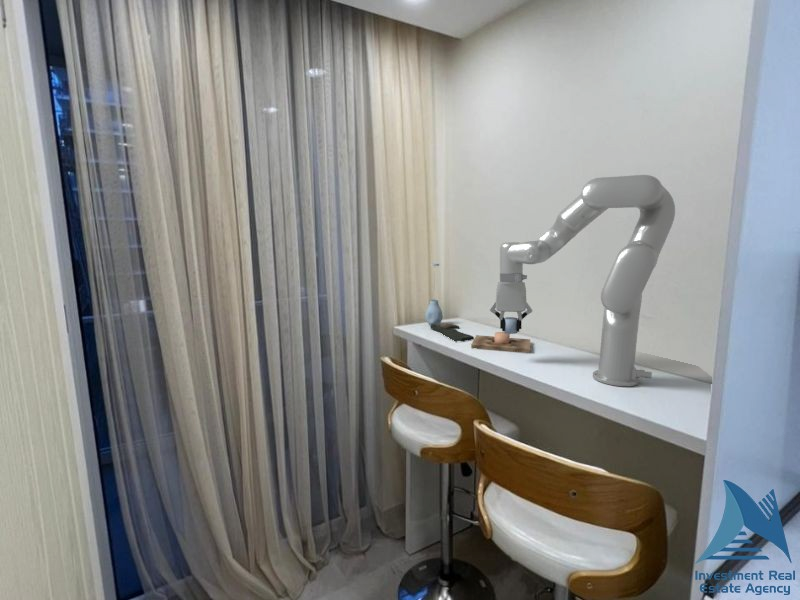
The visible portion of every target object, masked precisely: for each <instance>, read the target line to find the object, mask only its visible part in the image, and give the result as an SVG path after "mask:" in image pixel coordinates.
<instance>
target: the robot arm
mask: <svg viewBox="0 0 800 600" xmlns="http://www.w3.org/2000/svg"><path fill="white" fill-rule="evenodd" d="M580 193H581V194H579V196H578V197H576V198H575V199H574V200H572V202H570V203H569V204H568V205H567V206H566V207H565V208H564V209H562V210H561V211H560V212H558V213H559V214H557V216H556V219H555V222H554V223H553V224H552V226H551V227H550V228H549V229H548V230H547V231H546V232H545V233H544V234H543V235H542V236H541V237H539V238H537V240H530V241H529V240H528V241H525V242H517V241H515V242H514V241H513V242H503V243H501V244H500V247H499V282H497V284H496V285H497V286H496V295H495V302H494V304H493V305H492V306H491V307H490V309H489V311H490V312H491V313H492V314H494V315H495V316H496V317H497V318H498V319H499V321H500V324H499V325H500V327H499V328H500V329H502V330H501V332H504V318H505V317H504V316H505V312H508V313H510V312H511V313H512V312H515V313H517V333H519V332H520V330H522V322H523V321H522V320H524V319H525V318H526V317H527V316H528V315H530V314H531V313H533V309H532V307H531V305H530V304H529V303H528V302H527V288H526V283H525V281H524V280H528V275H525V274H523V271H524V270H523V269H524V268H523V267H524V265H536V264H541V263H543V262H546V261H547V260H549V259H550V258H552V257H553V255H555V254H557V253H558V251H560V250H561V249H562V248H564V247H565V246H566V245H567V244H568V243H569V242H570V241H571V240H572V239H574V238H575V237H576V236H577V235H578V234H579V233H580V232H581V231H583V230H584V229H585V228H586V227H587V226H588V225H590V224H591V223H592V222H594V220H596V219H597V218H598V217H599V216H601V215H602V214H603V213H604V212H605V211H607V210H608V209H614V208H615V209H617V208H618V209H620V208H621V209H622V208H623V209H624V208H626V209H627V208H637V209H638V210H639V218H638V220H637V222H636V225H635V227H634V229H633V232H632V234H631V235H630V239H629V240H628V243H627V245H626V246H624V247H623V248H621V250H620V251H619V252H618V254H617V256H616V257H615V260H614V262H613V264H612V267H611V268H610V271H609V273H608V275H607V278H606V280H605V283H604V285H603V288H602V289H601V293H600V300H601V303H602V305H603V307H604V309H603V310H604V311H603V316H602V317H603V318H602V328H601V336H600V337H601V339H600V349H599V360H598V363H599V364H598V369H597V370H594V371H593V372H592V377H593V379H594V380H595V381H598V382H600V383H602V384H607V385H610V386H616V387H634V386H638V385H639V382H640V381H639V380H640V378H644V379H652V377H653V373H652V371H645V369H637V368H636V367H635V362H636V352H637V342H638V340H637V339H638V332H639V324H640V314H641V307H642V301H643V300H642V299H643V292H644V290H645V288H646V285H647V283H648V282H649V279H650V277H651V276H652V274H653V272H654V269H655V268H656V266H657V264H658V260H659V257H660V254H661V252H662V250H663V247H664V245H665V243H666V240H667V238H668V236H669V233H670V232H671V228H672V226H673V224H674V221H675V217H676V205H675V201H674V198H673V197H672V195H671V193H670V192H669V190H667V188H666V187H665V186H664V185H663V184H662V183H661V181H660V180H659V179H658V178H656V177H655V176H652V175H648V174H638V175H637V174H635V175H623V176H622V175H621V176H607V177H606V176H605V177H604V176H603V177H596V178H593V179H590V180H588V181H587V182H586V183H585V184H584V185H583V187H582V189H581V192H580ZM523 264H524V265H523ZM522 312H523V313H522Z"/></svg>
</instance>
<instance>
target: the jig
mask: <svg viewBox="0 0 800 600" xmlns="http://www.w3.org/2000/svg"><path fill="white" fill-rule="evenodd" d="M494 340H495V336H490V335H479V334H477V335H475V337H474V340H472V343H471V349H474V348H477V349H476V350H488V351H499V352H510V353H511V352H512V353H522V354H531V339H530V338H519V337H518V338H516V337H510V338H509V344H496V343H494Z"/></svg>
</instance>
